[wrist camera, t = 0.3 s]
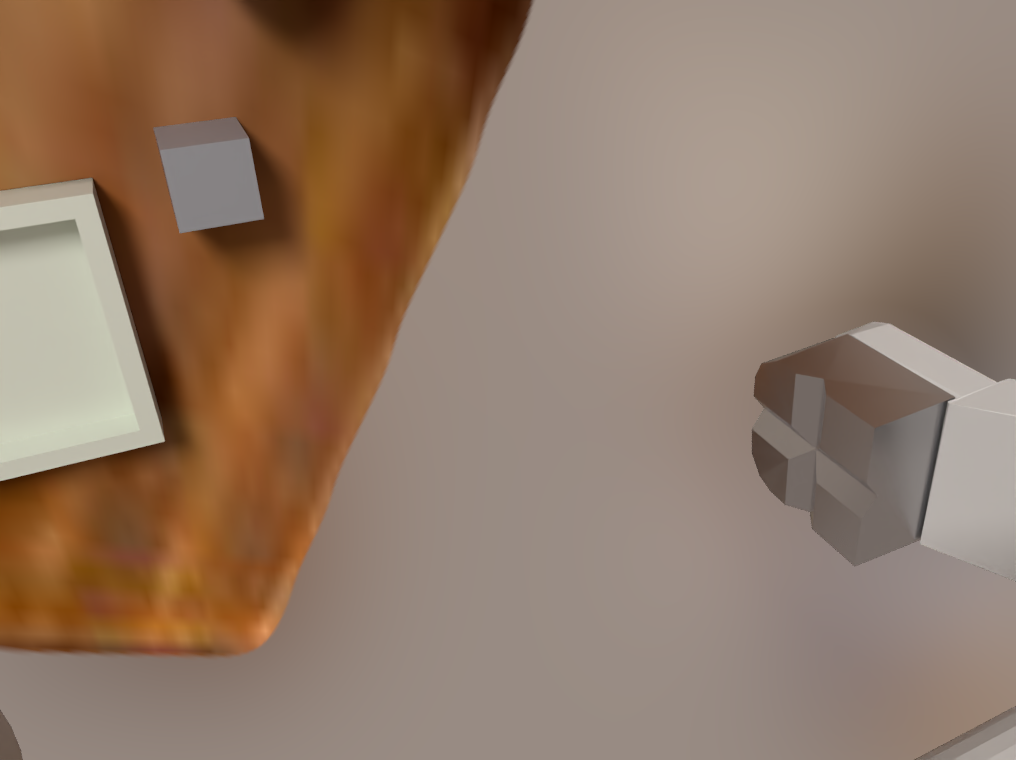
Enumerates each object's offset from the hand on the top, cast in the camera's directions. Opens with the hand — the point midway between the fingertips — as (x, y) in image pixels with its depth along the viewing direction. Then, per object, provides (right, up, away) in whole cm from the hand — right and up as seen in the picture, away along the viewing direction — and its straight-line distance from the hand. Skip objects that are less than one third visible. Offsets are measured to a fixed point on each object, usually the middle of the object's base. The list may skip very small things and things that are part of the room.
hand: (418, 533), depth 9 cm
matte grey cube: (-17, +14, +41) cm, 47 cm away
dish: (-29, +4, +41) cm, 51 cm away
